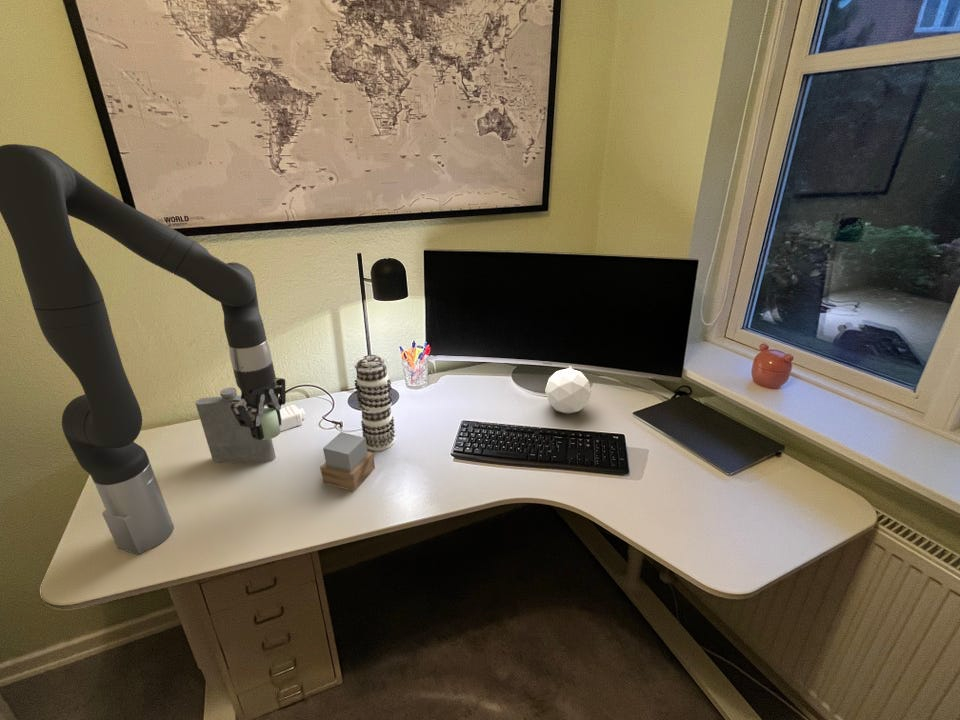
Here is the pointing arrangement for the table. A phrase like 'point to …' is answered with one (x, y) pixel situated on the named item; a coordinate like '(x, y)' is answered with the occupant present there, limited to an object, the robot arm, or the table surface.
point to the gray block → (345, 451)
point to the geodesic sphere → (568, 390)
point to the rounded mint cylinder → (269, 423)
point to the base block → (348, 474)
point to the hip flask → (230, 431)
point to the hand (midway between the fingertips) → (268, 431)
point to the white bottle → (291, 417)
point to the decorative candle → (375, 402)
